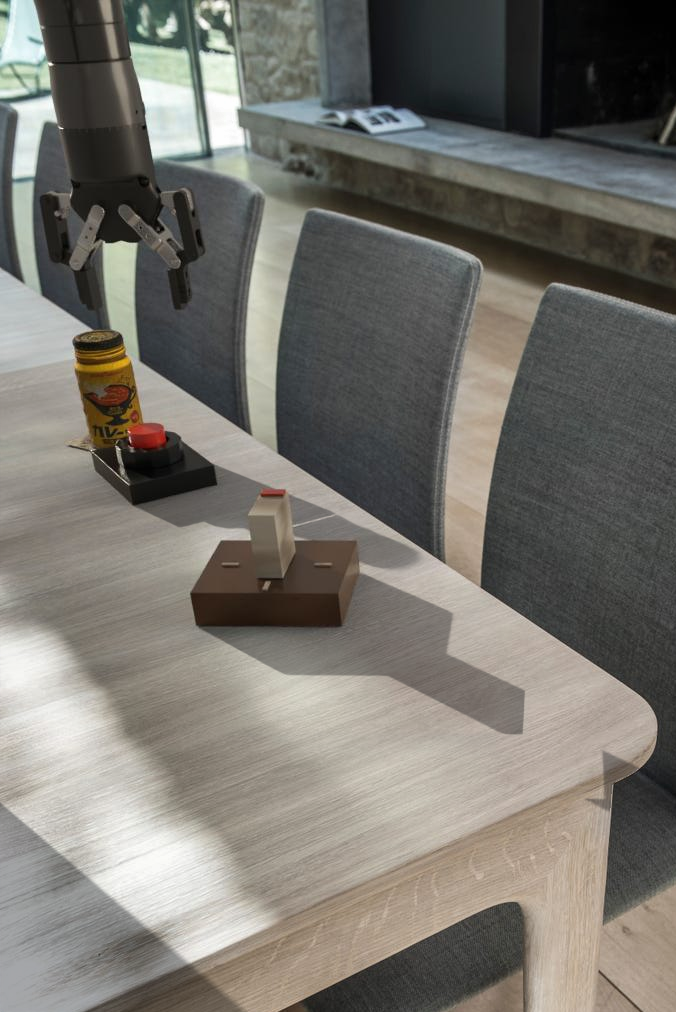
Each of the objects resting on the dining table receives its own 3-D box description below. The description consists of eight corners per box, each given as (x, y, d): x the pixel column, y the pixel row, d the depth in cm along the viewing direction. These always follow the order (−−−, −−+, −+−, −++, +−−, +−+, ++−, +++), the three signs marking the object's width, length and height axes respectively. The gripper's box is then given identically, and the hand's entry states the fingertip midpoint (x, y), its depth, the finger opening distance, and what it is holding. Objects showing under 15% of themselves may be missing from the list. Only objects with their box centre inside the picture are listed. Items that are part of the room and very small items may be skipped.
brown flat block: (195, 625, 93) (189, 591, 92) (225, 571, 102) (220, 538, 100) (341, 626, 93) (338, 591, 91) (360, 571, 101) (357, 538, 99)
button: (126, 443, 119) (122, 427, 118) (159, 436, 121) (156, 420, 120) (138, 453, 117) (134, 436, 116) (171, 446, 118) (168, 429, 117)
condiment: (117, 457, 126) (94, 347, 119) (64, 445, 130) (38, 337, 123) (164, 437, 131) (145, 330, 125) (112, 425, 135) (90, 321, 128)
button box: (95, 470, 123) (86, 434, 121) (175, 452, 127) (168, 416, 125) (133, 506, 115) (125, 467, 112) (217, 485, 119) (211, 447, 116)
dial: (283, 578, 93) (274, 512, 90) (256, 578, 94) (246, 512, 90) (295, 552, 97) (287, 488, 94) (270, 551, 98) (261, 487, 94)
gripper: (5, 126, 99) (51, 320, 108) (166, 122, 97) (199, 318, 106) (41, 115, 105) (81, 299, 114) (192, 111, 103) (221, 297, 113)
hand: (138, 308), depth 110 cm, fingers open, 8 cm apart
